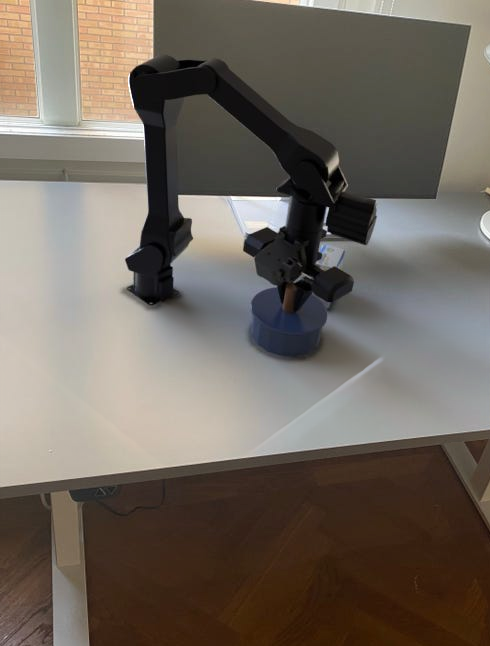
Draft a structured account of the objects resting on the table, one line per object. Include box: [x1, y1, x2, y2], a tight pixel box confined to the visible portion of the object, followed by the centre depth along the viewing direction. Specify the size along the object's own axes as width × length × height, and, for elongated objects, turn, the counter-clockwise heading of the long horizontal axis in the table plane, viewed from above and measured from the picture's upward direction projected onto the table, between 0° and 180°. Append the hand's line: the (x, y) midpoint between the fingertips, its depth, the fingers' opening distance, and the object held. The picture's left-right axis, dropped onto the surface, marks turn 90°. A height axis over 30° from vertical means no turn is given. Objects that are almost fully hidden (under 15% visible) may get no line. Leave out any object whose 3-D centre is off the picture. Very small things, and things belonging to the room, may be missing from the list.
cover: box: [250, 282, 329, 335], centre depth 118 cm, size 13×13×6 cm
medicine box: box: [312, 244, 346, 309], centre depth 132 cm, size 8×4×9 cm, turn 169°
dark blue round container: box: [250, 315, 324, 357], centre depth 121 cm, size 12×12×5 cm
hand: (290, 306), depth 119 cm, fingers closed on cover, 2 cm apart
